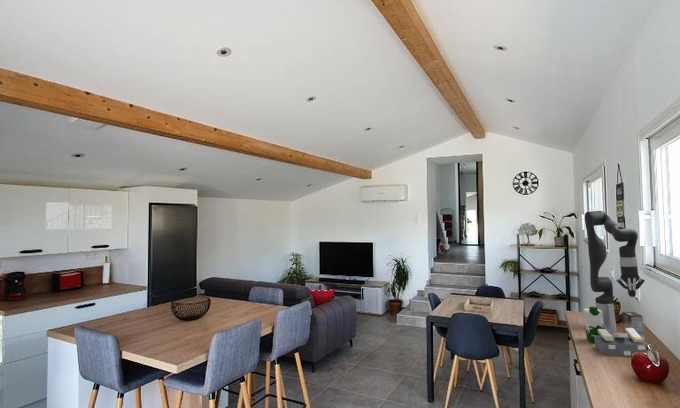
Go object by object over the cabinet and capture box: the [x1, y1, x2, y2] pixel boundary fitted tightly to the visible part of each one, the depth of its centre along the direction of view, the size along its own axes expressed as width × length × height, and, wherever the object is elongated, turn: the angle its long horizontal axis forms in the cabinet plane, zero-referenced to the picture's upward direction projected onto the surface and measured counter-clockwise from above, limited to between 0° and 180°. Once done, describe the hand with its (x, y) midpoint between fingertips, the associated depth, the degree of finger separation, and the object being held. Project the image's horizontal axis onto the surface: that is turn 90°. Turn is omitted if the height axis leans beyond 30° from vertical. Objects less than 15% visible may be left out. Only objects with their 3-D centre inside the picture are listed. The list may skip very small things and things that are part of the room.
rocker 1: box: [598, 329, 615, 341], centre depth 199 cm, size 10×4×2 cm, turn 165°
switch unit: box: [594, 336, 650, 357], centre depth 197 cm, size 13×20×7 cm, turn 74°
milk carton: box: [582, 306, 604, 344], centre depth 215 cm, size 9×9×20 cm
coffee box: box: [621, 311, 646, 342], centre depth 209 cm, size 9×6×16 cm
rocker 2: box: [611, 332, 628, 337], centre depth 197 cm, size 10×4×2 cm, turn 163°
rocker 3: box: [625, 328, 643, 342], centre depth 195 cm, size 10×4×2 cm, turn 166°
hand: (632, 296), depth 203 cm, fingers closed
